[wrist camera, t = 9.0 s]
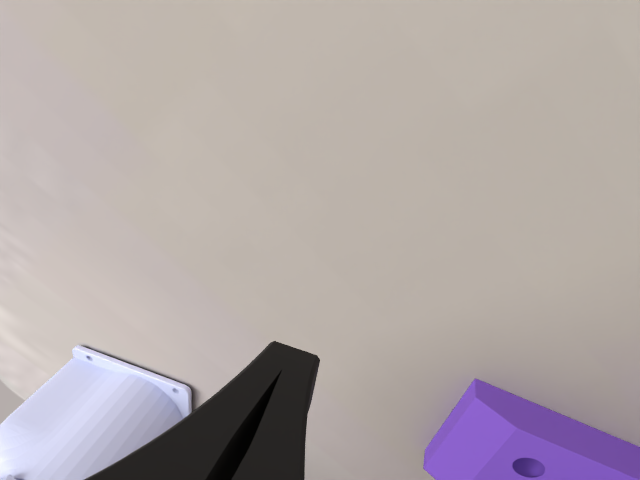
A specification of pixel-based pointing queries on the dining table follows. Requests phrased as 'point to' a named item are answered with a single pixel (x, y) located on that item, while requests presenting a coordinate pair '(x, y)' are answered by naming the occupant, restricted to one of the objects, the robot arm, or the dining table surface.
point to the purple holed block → (523, 443)
